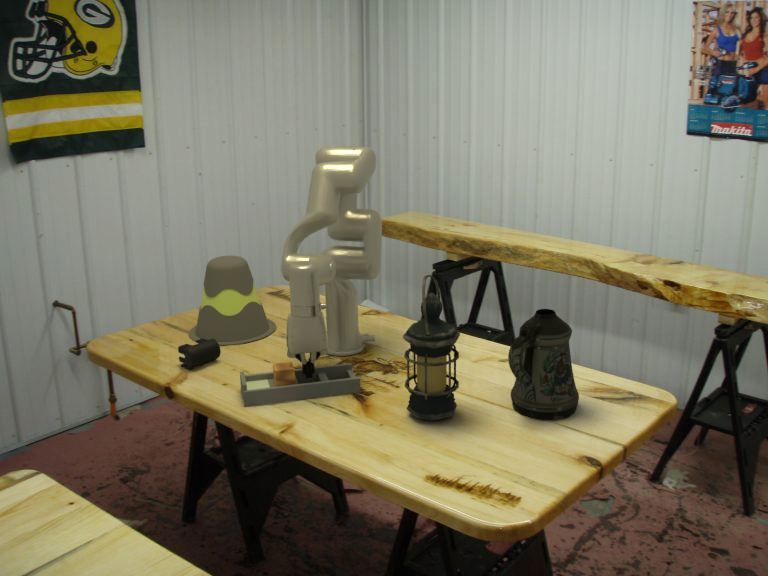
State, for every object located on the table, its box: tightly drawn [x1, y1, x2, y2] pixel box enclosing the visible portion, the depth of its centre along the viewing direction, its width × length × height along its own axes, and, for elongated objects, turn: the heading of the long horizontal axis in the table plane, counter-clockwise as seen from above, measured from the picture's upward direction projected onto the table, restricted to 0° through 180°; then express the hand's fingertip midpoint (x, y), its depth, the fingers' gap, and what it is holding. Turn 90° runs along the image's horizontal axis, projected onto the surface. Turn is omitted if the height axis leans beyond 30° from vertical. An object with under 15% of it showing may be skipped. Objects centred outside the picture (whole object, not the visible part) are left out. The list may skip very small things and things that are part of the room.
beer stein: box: [507, 308, 580, 421], centre depth 189 cm, size 16×19×25 cm
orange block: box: [272, 361, 295, 387], centre depth 204 cm, size 5×5×5 cm
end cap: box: [177, 338, 222, 370], centre depth 225 cm, size 10×7×7 cm
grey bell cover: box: [188, 255, 277, 346], centre depth 250 cm, size 28×28×24 cm
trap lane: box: [239, 362, 361, 408], centre depth 205 cm, size 30×11×6 cm, turn 104°
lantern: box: [402, 274, 461, 421], centre depth 186 cm, size 14×13×35 cm
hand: (308, 376), depth 205 cm, fingers closed
